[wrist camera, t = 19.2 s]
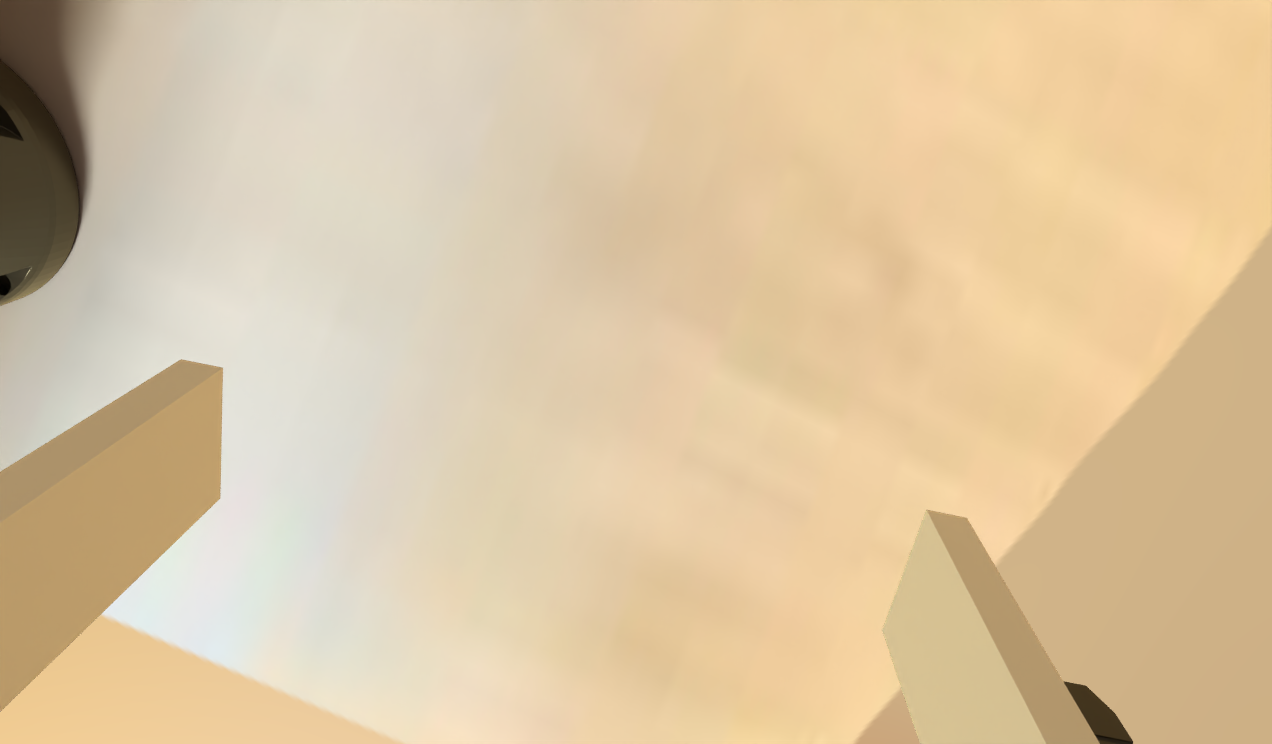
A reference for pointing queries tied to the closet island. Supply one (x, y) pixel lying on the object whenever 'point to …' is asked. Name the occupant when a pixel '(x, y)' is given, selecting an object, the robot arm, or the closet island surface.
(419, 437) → the closet island surface
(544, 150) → the closet island surface
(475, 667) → the closet island surface
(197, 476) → the robot arm
